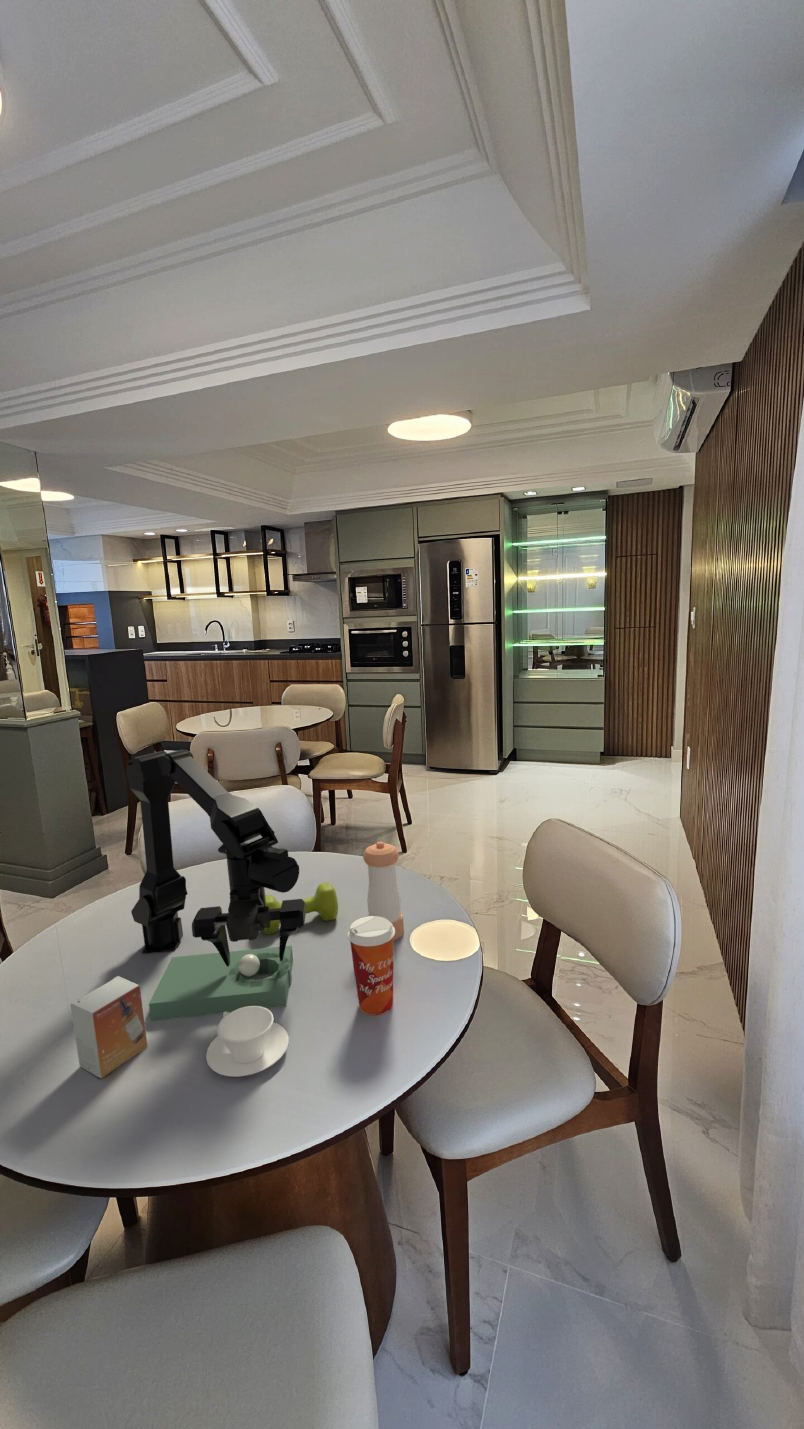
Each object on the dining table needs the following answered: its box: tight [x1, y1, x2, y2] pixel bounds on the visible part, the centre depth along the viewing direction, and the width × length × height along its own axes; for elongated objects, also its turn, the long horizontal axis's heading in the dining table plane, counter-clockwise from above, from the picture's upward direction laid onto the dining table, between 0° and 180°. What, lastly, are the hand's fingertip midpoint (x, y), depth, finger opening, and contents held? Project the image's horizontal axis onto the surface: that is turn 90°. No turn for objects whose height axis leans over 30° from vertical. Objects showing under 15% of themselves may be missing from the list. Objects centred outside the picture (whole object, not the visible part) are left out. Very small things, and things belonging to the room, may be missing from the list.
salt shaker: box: [362, 841, 405, 941], centre depth 125 cm, size 7×7×19 cm
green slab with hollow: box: [148, 945, 294, 1021], centre depth 111 cm, size 22×14×3 cm, turn 95°
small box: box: [69, 975, 148, 1079], centre depth 94 cm, size 8×6×10 cm
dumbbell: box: [262, 882, 339, 935], centre depth 132 cm, size 16×8×7 cm, turn 109°
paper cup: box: [347, 916, 395, 1016], centre depth 103 cm, size 8×8×14 cm
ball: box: [239, 954, 260, 976], centre depth 111 cm, size 4×4×4 cm
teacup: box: [205, 1006, 290, 1077], centre depth 94 cm, size 12×12×5 cm
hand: (255, 962), depth 111 cm, fingers open, 9 cm apart
